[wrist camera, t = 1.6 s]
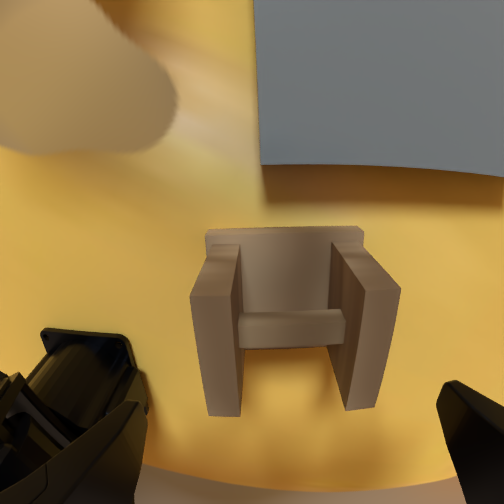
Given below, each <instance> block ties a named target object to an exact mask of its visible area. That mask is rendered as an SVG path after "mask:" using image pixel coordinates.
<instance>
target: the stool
mask: <svg viewBox="0 0 504 504" xmlns="http://www.w3.org/2000/svg"><path fill="white" fill-rule="evenodd" d="M363 240H364V231H363V230H361V229H360V228H359V227H358V226H306V227H265V228H233V229H209V230H208V231H207V233H206V235H205V242H206V254H207V258H206V260H205V262H204V264H203V267H202V269H201V271H200V273H199V276H198V278H197V280H196V282H195V285H194V287H193V289H192V292H191V294H190V304H191V311H192V318H193V325H194V332H195V339H196V345H197V352H198V358H199V364H200V370H201V376H202V382H203V388H204V393H205V399H206V404H207V410H208V415H209V416H223V417H240V414H241V399H242V385H243V370H244V355H245V350H256V349H289V348H309V347H325V346H327V349H328V353H329V356H330V359H331V363H332V366H333V369H334V373H335V376H336V380H337V383H338V387H339V390H340V394H341V397H342V401H343V404H344V408H345V411H350V410H358V409H365V408H372V407H375V403H376V400H377V397H378V393H379V389H380V386H381V382H382V378H383V374H384V370H385V366H386V362H387V358H388V354H389V349H390V345H391V340H392V336H393V331H394V326H395V321H396V316H397V310H398V304H399V299H400V293H401V288H400V286H399V285H398V284H397V283H396V282H395V281H394V280H393V279H392V278H391V276H390V275H389V274H388V273H387V272H386V271H385V270H384V269H383V268H382V267H381V265H380V264H379V263H378V262H377V261H376V260H375V259H374V258H373V257H372V256H371V255H370V254H369V252H368V251H367V250H366V249H365V248H364V247H363Z"/></svg>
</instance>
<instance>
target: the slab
mask: <svg viewBox="0 0 504 504" xmlns="http://www.w3.org/2000/svg"><path fill="white" fill-rule="evenodd" d="M253 1H254V21H255V42H256V64H257V88H258V112H259V138H260V163H261V165H278V164H341V165H374V166H394V167H411V168H424V169H437V170H448V171H458V172H467V173H476V174H484V175H492V176H499V177H504V0H253Z"/></svg>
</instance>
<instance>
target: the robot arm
mask: <svg viewBox="0 0 504 504" xmlns="http://www.w3.org/2000/svg"><path fill="white" fill-rule="evenodd" d="M47 335H48V336H47ZM40 336H41V339H42V341H43V344H44V347H45V349H46V352H47V354H46V355H45V356H44V358H43V359H42V360H41V361H40V362H39V363H38V365H37V366H36V367H35V368H34V369H33V371H32V372H31V373H30V374H29V376H28V377H27V378H26V379H25V378H24V377H23V376H22V375H21V373H20V372H17V373H15V374H13V375H12V376H10V377H9V376H8V375H7V374H4V373H3V372H1V371H0V504H134V493H135V489H136V485H137V482H138V478H139V474H140V470H141V465H142V459H143V452H144V445H145V439H146V432H147V426H148V422H147V418H146V415H147V414H148V411H149V407H148V404H147V395H146V392H145V389H144V386H143V382H142V379H141V376H140V373H139V370H138V369H137V367H135V363H134V360H133V356H132V353H131V349H130V346H129V342H128V340H127V338H126V337H125V336H123V335H121V334H112V333H99V332H86V331H75V330H65V329H55V328H44V329H43V330H42V331H41V333H40ZM117 341H118V342H120V343H121V344H122V345H121V344H119V343H118V342H117ZM436 407H437V411H438V415H439V418H440V422H441V426H442V430H443V433H444V437H445V441H446V445H447V448H448V451H449V453H450V456H451V459H452V462H453V464H454V467H455V470H456V473H457V476H458V478H459V482H460V485H461V488H462V491H463V494H464V497H465V500H466V503H467V504H504V407H503V406H502V405H500V404H498V403H496V402H494V401H493V400H491V399H489V398H487V397H486V396H484V395H482V394H480V393H479V392H477V391H475V390H473V389H472V388H470V387H468V386H466V385H465V384H463V383H461V382H459V381H457V380H452V381H448V382H445V383H444V384H443V387H442V389H441V392H440V394H439V396H438V399H437V402H436Z"/></svg>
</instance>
